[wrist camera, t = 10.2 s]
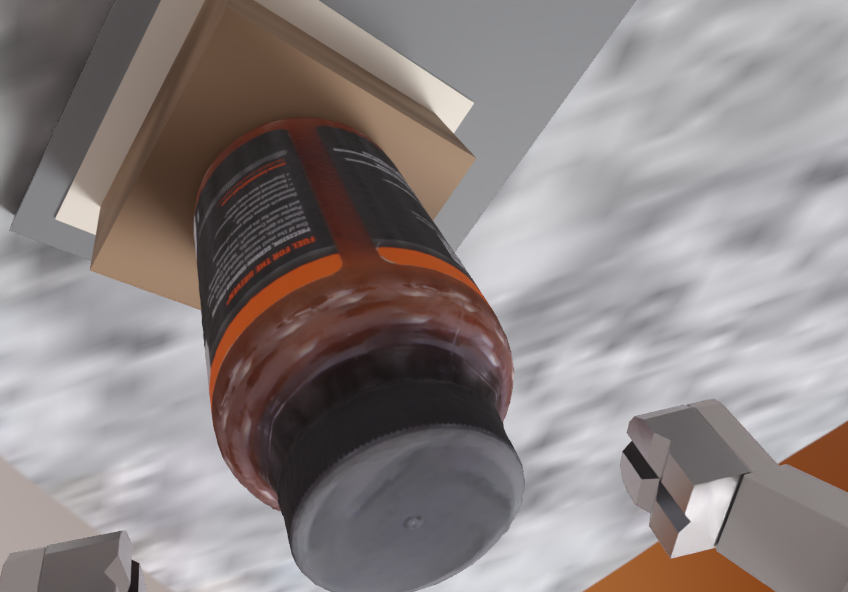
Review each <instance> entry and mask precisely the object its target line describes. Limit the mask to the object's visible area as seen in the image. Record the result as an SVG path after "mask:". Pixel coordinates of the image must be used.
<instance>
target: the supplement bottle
mask: <svg viewBox="0 0 848 592" xmlns="http://www.w3.org/2000/svg"><path fill="white" fill-rule="evenodd" d="M194 241H195V250H196V261H197V272H198V282H199V294H200V295H199V296H200V304H201V314H202V326H203V337H204V346H205V356H206V365H207V374H208V384H209V394H210V402H211V412H212V420H213V427H214V431H215V434H216V438H217V442H218V446H219V449H220V451H221V454H222V457H223V459H224V461H225V463H226V464H227V466H228V467H229V468H230V470H231V472H232V473H233V475H234V476H235V477H236V478H237V479H238V481H239V482H240V483H241V484H242V485H243V486H244V487H246V488H247V489H248V490H249V492H250V493H251V494H252V495H254V496H255V497H256V498H258V499H259V500H260V501H262V502H263V503H265V504H267V505H269V506H270V507H272V508H273V509H276V510H278V511H281V512H282V515H283V516H284V520H285V526H286V529H287V534H288V540H289V544H290V548H291V552H292V556H293V558H294V560H295V562H296V565H297V566H298V567H299V569H300V570H301V572H302V573H303V574H304V575H305V576H307V577H308V578H309V579H310V580H311V581H312V582H313V583H314V584H315V585H318V586H320V587H322V588H324V589H325V590H328V591H331V592H414V591H417V590H420V589H423V588H426V587H429V586H433V585H436V584H438V583H440V582H442V581H444V580H446V579H448V578H450V577H452V576H454V575H456V574H457V573H459V572H461V571H463V570H464V569H466V568H467V567H469V566H471V565H472V564H473V563H474V562H476V561H477V560H478V559H480V558H481V557H482V556H483V555H485V554H486V553H487V552H488V551H489V550H490V549H491V547H492V546H493V545H494V544H495V543H496V542H497V541H498V540H499V539H500V538H501V536H502V535H503V534H504V533H506V532H507V531H508V529H509V527H510V524H511V523H512V521H513V520H514V518H515V516H516V515H517V513H518V511H519V508H520V506H521V504H522V496H523V492H524V486H525V480H524V474H523V467H522V464H521V462H520V459H519V457H518V455H517V453H516V451H515V449H514V447H513V445H512V443H511V441H510V440H509V438H508V437H507V435H506V432H505V430H504V426H503V421H504V418H505V416H506V414H507V411H508V407H509V404H510V400H511V395H512V389H513V376H514V367H513V359H512V354H511V351H510V347H509V343H508V340H507V337H506V335H505V333H504V331H503V329H502V327H501V325H500V323H499V321H498V318H497V316H496V315H495V313H494V312H493V310H492V308H491V307H490V305H489V304H488V302H487V301H486V299H485V298H484V296H483V295H482V293H481V292H480V290H479V288H478V287H477V285H476V284H475V282H474V281H473V279H472V278H471V276H470V275H469V273H468V272H467V270H466V269H465V267H464V266H463V264H462V263H461V261H460V260H459V258H458V257H457V256H456V254H455V253H454V251H453V249H452V248H451V247H450V245H449V244H448V242H447V241H446V239H445V238H444V236H443V235H442V233H441V232H440V230H439V229H438V227H437V226H436V225H435V223H434V222H433V220H432V219H431V217H430V216H429V214H428V213H427V211H426V210H425V208H424V207H423V206H422V204H421V202H420V201H419V199H418V198H417V196H416V195H415V193H414V192H413V191H412V189H411V188H410V186H409V185H408V183H407V182H406V180H405V179H404V178H403V176H402V174H401V173H400V172H399V170H398V168H397V167H396V166H395V164H394V163H393V162H392V161H391V159H390V158H389V157H388V156H387V155H386V154H385V152H384V151H383V150H382V149H381V148H380V147H379V146H378V145H377V144H376V143H374V142H373V141H372V140H370V139H369V138H368V137H367V136H365V135H364V134H363V133H361V132H359V131H357V130H355V129H354V128H352V127H350V126H348V125H345V124H342V123H339V122H336V121H332V120H327V119H321V118H302V117H299V118H288V119H283V120H278V121H272V122H268V123H265V124H263V125H261V126H259V127H257V128H254V129H253V130H251V131H248V132H247V133H246V134H244V135H242V136H241V137H239V138H238V139H236V140H235V141H234V142H232V143H231V144H230V145H229V146H228V147H227V148H226V149H224V150H223V151H222V152H221V154H220V155H219V156H218V157H217V158H216V159H215V161H214V162H213V163H212V164H211V166H210V167H209V169H208V170H207V172H206V174H205V176H204V178H203V180H202V182H201V185H200V188H199V191H198V193H197V199H196V205H195V213H194Z"/></svg>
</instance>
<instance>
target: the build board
mask: <svg viewBox="0 0 848 592" xmlns="http://www.w3.org/2000/svg"><path fill="white" fill-rule="evenodd" d="M204 1H205V0H115V1H114V3H113V5H112V7H111V9H110V12H109V14H108V16H107V18H106V20H105V22H104V25H103V27H102V29H101V31H100V33H99V35H98V37H97V40H96V42H95V44H94V46H93V48H92V50H91V53H90V55H89V57H88V59H87V61H86V63H85V66H84V68H83V70H82V72H81V74H80V76H79V79H78V81H77V83H76V85H75V87H74V89H73V91H72V94H71V96H70V98H69V100H68V102H67V104H66V107H65V109H64V111H63V113H62V115H61V117H60V120H59V122H58V124H57V126H56V128H55V130H54V133H53V135H52V137H51V139H50V141H49V143H48V146H47V148H46V150H45V152H44V154H43V156H42V158H41V161H40V163H39V165H38V167H37V169H36V171H35V174H34V176H33V178H32V180H31V182H30V184H29V187H28V189H27V191H26V193H25V195H24V197H23V200H22V202H21V204H20V206H19V208H18V210H17V212H16V215H15V217H14V220H13V222H12V225H11V228H10V230H9V231H12V232H15V233H17V234H20V235H23V236H25V237H28V238H31V239H34V240H36V241H39V242H42V243H45V244H47V245H50V246H53V247H55V248H58V249H61V250H64V251H66V252H69V253H72V254H75V255H77V256H80V257H83V258H86V259H88V260H92V254H93V248H94V242H95V236H96V230H97V224H98V218H99V212H100V206H101V204H102V202H103V200H104V198H105V197H106V195H107V193H108V191H109V189H110V187H111V185H112V183H113V181H114V179H115V177H116V175H117V173H118V171H119V169H120V167H121V165H122V163H123V161H124V159H125V157H126V155H127V153H128V151H129V149H130V147H131V145H132V143H133V141H134V139H135V137H136V135H137V133H138V131H139V129H140V128H141V126H142V124H143V122H144V120H145V118H146V116H147V114H148V112H149V110H150V108H151V106H152V104H153V102H154V100H155V98H156V96H157V94H158V92H159V90H160V88H161V86H162V84H163V82H164V80H165V78H166V76H167V74H168V72H169V70H170V68H171V66H172V64H173V62H174V60H175V59H176V57H177V55H178V53H179V51H180V49H181V47H182V45H183V43H184V41H185V39H186V37H187V35H188V33H189V31H190V29H191V27H192V25H193V23H194V21H195V19H196V17H197V15H198V13H199V11H200V9H201V7H202V5H203V3H204ZM254 1H256V2H257V3H259V4H261V5H262V6H264V7H265V8H267V9H269V10H270V11H272V12H273V13H275V14H277V15H278V16H280V17H281V18H283V19H285V20H286V21H288V22H289V23H291V24H293V25H294V26H296V27H297V28H299V29H301V30H302V31H304V32H305V33H307V34H309V35H310V36H312V37H313V38H315V39H317V40H318V41H320V42H321V43H323V44H325V45H326V46H328V47H329V48H331V49H333V50H334V51H336V52H338V53H339V54H341V55H342V56H344V57H346V58H347V59H349V60H350V61H352V62H354V63H355V64H357V65H358V66H360V67H362V68H363V69H365V70H366V71H368V72H370V73H371V74H373V75H374V76H376V77H378V78H379V79H381V80H382V81H384V82H386V83H387V84H389V85H390V86H392V87H394V88H395V89H397V90H398V91H400V92H402V93H403V94H405V95H406V96H408V97H410V98H411V99H413V100H414V101H416V102H418V103H419V104H421V105H422V106H424V107H426V108H427V109H429V110H430V111H432V112H434V113H435V114H436V115H437V116H438V117H439V118H440V119H441V120H442V121H443V122H444V123H445V125H446V126H447V127H448V128H449V129H450V130H451V131H452V132H453V133H454V134H455V135H456V137H457V138H458V139H459V140H460V141H461V142H462V143H463V144H464V145H465V146H466V147H467V149H468V150H469V151H470V152H471V153H472V154H473V155H474V156H475V157H476V160H475V161H474V163H473V164H472V166H471V167H470V168H469V170H468V171H467V173H466V174H465V176H464V177H463V179H462V180H461V181H460V183H459V184H458V186H457V187H456V189H455V190H454V191H453V193H452V194H451V196H450V197H449V199H448V200H447V202H446V203H445V204H444V206H443V207H442V209H441V210H440V212H439V213H438V214H437V216H436V217H435V219H434V220H433V222H434V223H435V225H436V226H437V227H438V229H439V230H440V232H441V233H442V235H443V236H444V238H445V239H446V241H447V242H448V244H449V245H450V247H451V248H452V249H453V251H454V253H455V252H456V250H457V249H458V247H459V246H460V245H461V243H462V242H463V240H464V239H465V238H466V236H467V235H468V233H469V232H470V231H471V229H472V228H473V227H474V225H475V224H476V222H477V221H478V220H479V218H480V217H481V215H482V214H483V213H484V211H485V210H486V208H487V207H488V206H489V204H490V203H491V201H492V200H493V199H494V197H495V196H496V195H497V193H498V192H499V190H500V189H501V188H502V186H503V185H504V183H505V182H506V181H507V179H508V178H509V176H510V175H511V174H512V172H513V171H514V170H515V168H516V167H517V165H518V164H519V163H520V161H521V160H522V158H523V157H524V156H525V154H526V153H527V151H528V150H529V149H530V147H531V146H532V145H533V143H534V142H535V140H536V139H537V138H538V136H539V135H540V133H541V132H542V131H543V129H544V128H545V126H546V125H547V124H548V122H549V121H550V119H551V118H552V117H553V115H554V114H555V113H556V111H557V110H558V108H559V107H560V106H561V104H562V103H563V101H564V100H565V99H566V97H567V96H568V94H569V93H570V92H571V90H572V89H573V88H574V86H575V85H576V83H577V82H578V81H579V79H580V78H581V76H582V75H583V74H584V72H585V71H586V69H587V68H588V67H589V65H590V64H591V62H592V61H593V60H594V58H595V57H596V56H597V54H598V53H599V51H600V50H601V49H602V47H603V46H604V44H605V43H606V42H607V40H608V39H609V37H610V36H611V35H612V33H613V32H614V31H615V29H616V28H617V26H618V25H619V24H620V22H621V21H622V19H623V18H624V17H625V15H626V14H627V12H628V11H629V10H630V8H631V7H632V5H633V4H634V3H635V1H636V0H254Z"/></svg>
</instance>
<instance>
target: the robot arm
mask: <svg viewBox="0 0 848 592" xmlns="http://www.w3.org/2000/svg"><path fill="white" fill-rule="evenodd" d="M627 434H628V435H629V437H630V438H631V440H632V441H631V442H630V443H629V445H628V446H627V447H626V448H625V449H624V450H623V451H622V457H621V462H620V468H621V474H622V480H623V483H624V485H625V488H626V490H627V493H628V494H629V496H630V497H631V499H632V500H633V502H634V504H635V505H637V506H638V507H640V508H642V509H644V510H646V511H647V512H649V513H650V521H649V527H650V528H651V530H652V531H653V533H654V534H655V536H656V537H657V539H658V540H659V542H660V543H661V545H662V546H663V548H664V549H665V551H666V552H667V554H668V555H669V557H670V558H675V557H679V556H683V555H686V554H691V553H695V552H699V551H703V550H707V549H711V548H716V547H717V548H716V551H718V552H719V553H721V554H722V555H723V556H725V557H726V558H728V559H729V560H731V561H732V562H734V563H736V564H737V565H738V566H740V567H741V568H742V569H744V570H745V571H747V572H748V573H750V574H751V575H752V576H754V577H755V578H757V579H758V580H760V581H761V582H763V583H764V584H766V585H767V586H769V587H770V588H771V589H773V590H774V591H776V592H848V493H847V492H845V491H843V490H841V489H839V488H837V487H835V486H832V485H830V484H828V483H826V482H824V481H822V480H819V479H817V478H815V477H813V476H811V475H809V474H807V473H805V472H802V471H800V470H798V469H795V468H794V467H792V466H789V465H787V464H786V465H781V466H779V465H778V464H777V463H776V462H775V461H774V460H773V458H772V457H771V456H770V455H769V454H768V453H767V452H766V451H765V450H764V449H763V448H762V446H761V445H760V444H759V443H758V442H757V441H756V440H755V439H754V438H753V437H752V436H751V434H750V433H749V432H748V431H747V430H746V429H745V428H744V427H743V426H742V425H741V424H740V422H739V421H738V420H737V419H736V418H735V417H734V416H733V415H732V414H731V413H730V411H729V410H728V409H727V408H726V407H725V406H724V405H723V404H722V403H721V402H719V401H717V400H715V399H710V400H705V401H701V402H696V403H692V404H688V405H680V406H676V407H672V408H668V409H664V410H659V411H655V412H651V413H647V414H642V415H638V416H634V417H633V419H632V420H631V421H630V422H629V426H628V430H627ZM131 559H132V543H131V541H130V538H129V536H128V534H127V532H126V531H118V532H113V533H108V534H103V535H98V536H93V537H87V538H83V539H77V540H72V541H67V542H62V543H57V544H52V545H48V546H43V547H38V548H34V549H29V550H24V551H19V552H15V553H10V554H9V556H8V558H7V559H6V561H5V563H4V564H3V567H2V572H1V576H0V592H147V590H146V584H145V580H144V575H143V572H142V569H141V566H140V564H139V563H137V562H135V561H133V560H131Z"/></svg>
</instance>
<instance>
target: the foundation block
mask: <svg viewBox="0 0 848 592" xmlns="http://www.w3.org/2000/svg"><path fill="white" fill-rule="evenodd" d="M299 117H302V118H321V119H327V120H332V121H336V122H339V123H342V124H345V125H348V126H350V127H352V128H354V129H355V130H357V131H359V132H361V133H363V134H364V135H365V136H367V137H368V138H369V139H370V140H372V141H373V142H374V143H376V144H377V145H378V146H379V147H380V148H381V149H382V150H383V151H384V152H385V154H386V155H387V156H388V157H389V158H390V159H391V161H392V162H393V163H394V164H395V166H396V167H397V168H398V170H399V172H400V173H401V174H402V176H403V178H404V179H405V180H406V182H407V183H408V185H409V186H410V188H411V189H412V191H413V192H414V193H415V195H416V196H417V198H418V199H419V201H420V202H421V204H422V206H423V207H424V208H425V210H426V211H427V213H428V214H429V216H430V217H431V219H432V220H434V219H435V217H436V216H437V214H438V213H439V212H440V210H441V209H442V207H443V206H444V204H445V203H446V202H447V200H448V199H449V197H450V196H451V194H452V193H453V191H454V190H455V189H456V187H457V186H458V184H459V183H460V181H461V180H462V179H463V177H464V176H465V174H466V173H467V171H468V170H469V168H470V167H471V166H472V164H473V163H474V161H475V160H476V157H475V156H474V155H473V154H472V153H471V152H470V151H469V150H468V149H467V147H466V146H465V145H464V144H463V143H462V142H461V141H460V140H459V139H458V138H457V137H456V135H455V134H454V133H453V132H452V131H451V130H450V129H449V128H448V127H447V126H446V125H445V123H444V122H443V121H442V120H441V119H440V118H439V117H438V116H437V115H436V114H435V113H434V112H432V111H430V110H429V109H427V108H426V107H424V106H422V105H421V104H419V103H418V102H416V101H414V100H413V99H411V98H410V97H408V96H406V95H405V94H403V93H402V92H400V91H398V90H397V89H395V88H394V87H392V86H390V85H389V84H387V83H386V82H384V81H382V80H381V79H379V78H378V77H376V76H374V75H373V74H371V73H370V72H368V71H366V70H365V69H363V68H362V67H360V66H358V65H357V64H355V63H354V62H352V61H350V60H349V59H347V58H346V57H344V56H342V55H341V54H339V53H338V52H336V51H334V50H333V49H331V48H329V47H328V46H326V45H325V44H323V43H321V42H320V41H318V40H317V39H315V38H313V37H312V36H310V35H309V34H307V33H305V32H304V31H302V30H301V29H299V28H297V27H296V26H294V25H293V24H291V23H289V22H288V21H286V20H285V19H283V18H281V17H280V16H278V15H277V14H275V13H273V12H272V11H270V10H269V9H267V8H265V7H264V6H262V5H261V4H259V3H257V2H256V1H254V0H205V1H204V3H203V5H202V7H201V9H200V11H199V13H198V15H197V17H196V19H195V21H194V23H193V25H192V27H191V29H190V31H189V33H188V35H187V37H186V39H185V41H184V43H183V45H182V47H181V49H180V51H179V53H178V55H177V57H176V59H175V60H174V62H173V64H172V66H171V68H170V70H169V72H168V74H167V76H166V78H165V80H164V82H163V84H162V86H161V88H160V90H159V92H158V94H157V96H156V98H155V100H154V102H153V104H152V106H151V108H150V110H149V112H148V114H147V116H146V118H145V120H144V122H143V124H142V126H141V128H140V129H139V131H138V133H137V135H136V137H135V139H134V141H133V143H132V145H131V147H130V149H129V151H128V153H127V155H126V157H125V159H124V161H123V163H122V165H121V167H120V169H119V171H118V173H117V175H116V177H115V179H114V181H113V183H112V185H111V187H110V189H109V191H108V193H107V195H106V197H105V198H104V200H103V202H102V204H101V206H100V212H99V218H98V224H97V230H96V236H95V242H94V248H93V254H92V260H91V267H90V271H93V272H96V273H99V274H102V275H104V276H107V277H110V278H113V279H115V280H118V281H121V282H124V283H127V284H129V285H132V286H135V287H138V288H141V289H143V290H146V291H149V292H152V293H155V294H157V295H160V296H163V297H166V298H168V299H171V300H174V301H177V302H180V303H182V304H185V305H188V306H191V307H194V308H196V309H199V310H201V304H200V296H199V295H200V294H199V282H198V272H197V261H196V250H195V241H194V213H195V205H196V199H197V193H198V191H199V188H200V185H201V182H202V180H203V178H204V176H205V174H206V172H207V170H208V169H209V167H210V166H211V164H212V163H213V162H214V161H215V159H216V158H217V157H218V156H219V155H220V154H221V152H222V151H223V150H224V149H226V148H227V147H228V146H229V145H230V144H231V143H232V142H234V141H235V140H236V139H238V138H239V137H241V136H242V135H244V134H246V133H247V132H248V131H251V130H253V129H254V128H257V127H259V126H261V125H263V124H265V123H268V122H272V121H278V120H283V119H288V118H299Z"/></svg>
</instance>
